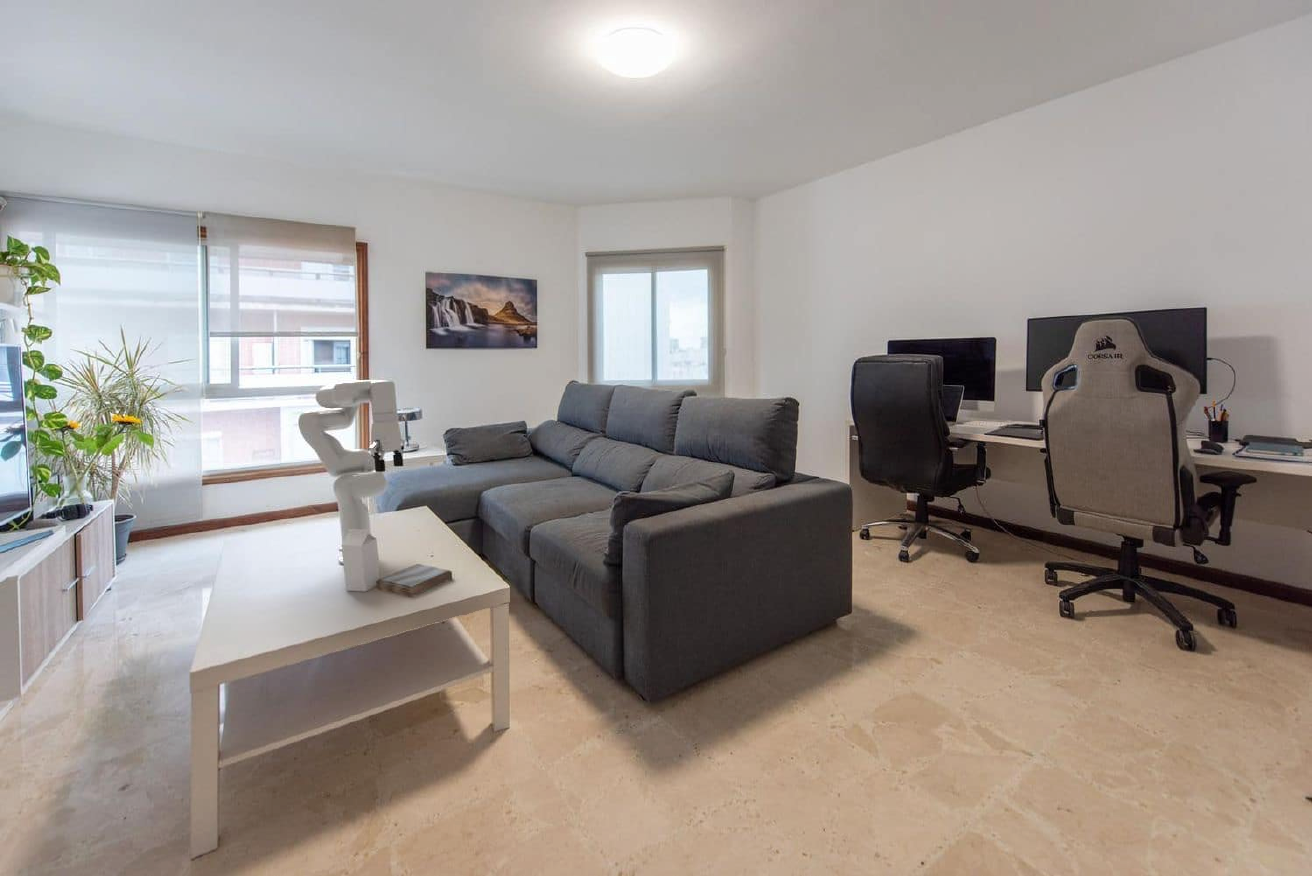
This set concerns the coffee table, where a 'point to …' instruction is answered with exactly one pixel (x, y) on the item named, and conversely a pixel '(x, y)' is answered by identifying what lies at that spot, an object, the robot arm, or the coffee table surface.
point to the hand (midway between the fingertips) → (389, 468)
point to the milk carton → (360, 560)
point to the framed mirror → (414, 580)
